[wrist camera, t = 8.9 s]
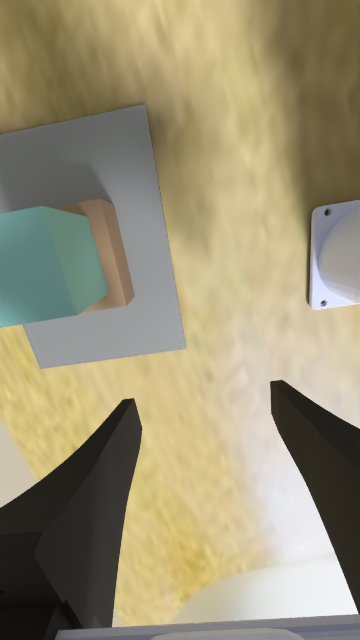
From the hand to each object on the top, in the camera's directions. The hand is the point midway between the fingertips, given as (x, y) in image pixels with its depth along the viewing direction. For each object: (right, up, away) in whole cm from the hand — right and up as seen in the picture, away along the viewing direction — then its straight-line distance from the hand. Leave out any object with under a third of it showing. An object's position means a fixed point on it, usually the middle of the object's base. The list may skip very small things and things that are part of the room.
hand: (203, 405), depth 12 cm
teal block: (-9, +8, +3) cm, 13 cm away
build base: (-9, +9, +7) cm, 15 cm away
